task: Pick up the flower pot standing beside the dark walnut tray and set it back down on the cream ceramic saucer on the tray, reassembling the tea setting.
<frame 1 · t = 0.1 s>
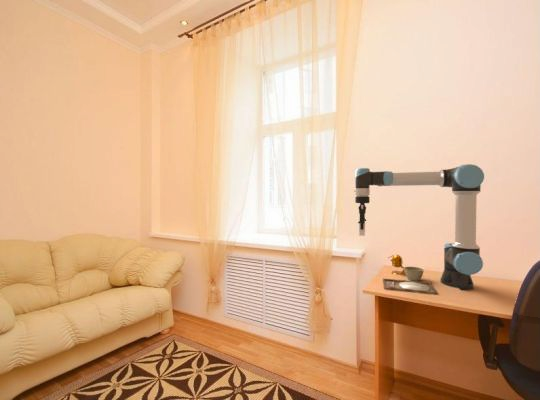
hand: (362, 233, 156), 28 cm above the table, fingers open, 13 cm apart
tray: (407, 288, 148), on the table
teaspoon: (393, 284, 152), resting on tray
saucer: (413, 287, 147), resting on tray
figurine: (398, 274, 175), on the table
flower pot: (413, 281, 161), on the table
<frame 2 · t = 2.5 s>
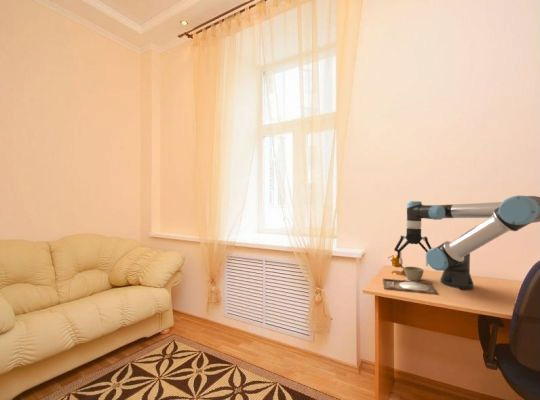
hand: (413, 264, 161), 9 cm above the table, fingers open, 13 cm apart
nothing on the table moved.
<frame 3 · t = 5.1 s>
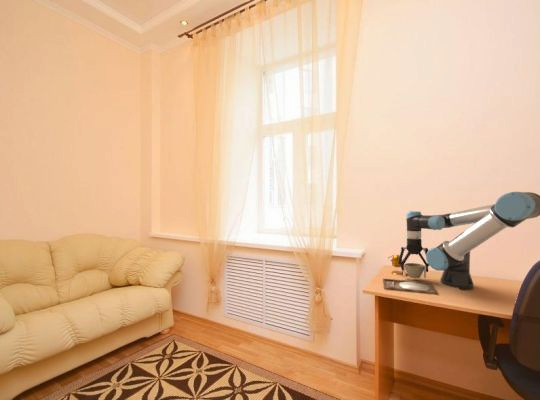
hand: (414, 276, 160), 3 cm above the table, fingers closed on flower pot, 10 cm apart
flower pot: (414, 277, 160), point 2 cm above the table, touching gripper
everything else where it was.
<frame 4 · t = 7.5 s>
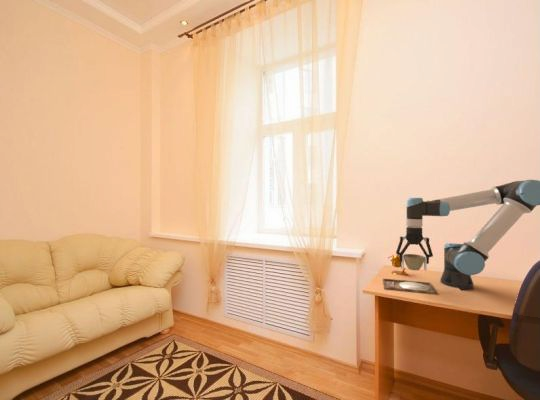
hand: (413, 268, 147), 11 cm above the table, fingers closed on flower pot, 10 cm apart
flower pot: (413, 269, 147), point 10 cm above the table, touching gripper
everything else where it was.
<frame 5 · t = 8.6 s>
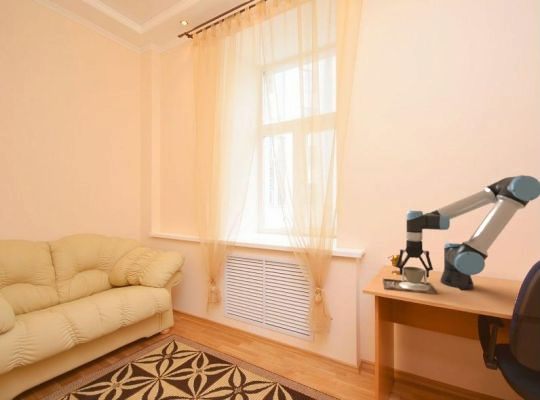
hand: (413, 281, 147), 4 cm above the table, fingers closed on flower pot, 10 cm apart
flower pot: (413, 282, 147), point 3 cm above the table, touching gripper
everything else where it was.
when the fingers open (3 cm above the table, at t = 9.7 s): flower pot drops 1 cm, resting on saucer.
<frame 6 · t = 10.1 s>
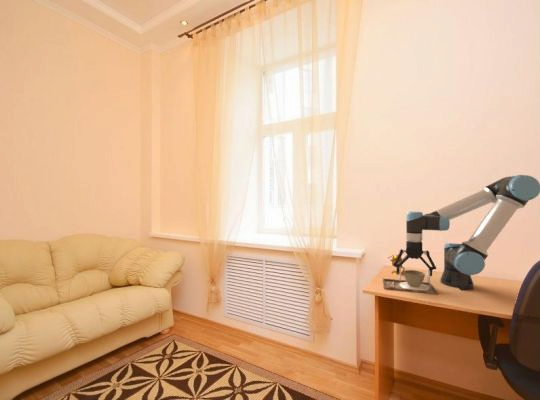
hand: (414, 280, 147), 4 cm above the table, fingers open, 13 cm apart
flower pot: (414, 286, 147), point 1 cm above the table, touching saucer
everything else where it was.
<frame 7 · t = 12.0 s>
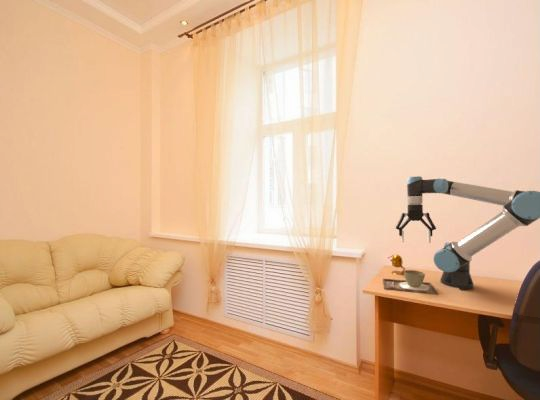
hand: (415, 242, 156), 23 cm above the table, fingers open, 13 cm apart
nothing on the table moved.
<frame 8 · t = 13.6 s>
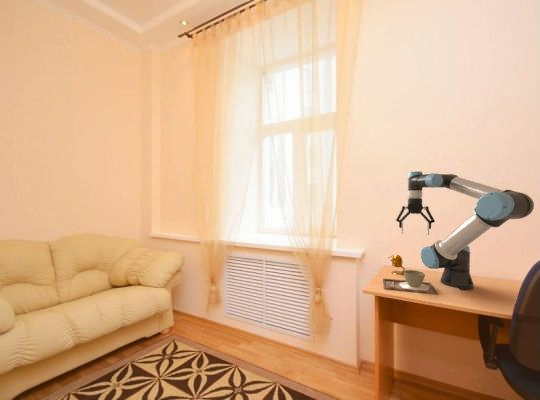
hand: (414, 234, 163), 27 cm above the table, fingers open, 13 cm apart
nothing on the table moved.
at the end: flower pot inside the target area on the saucer (0.1 cm from its centre), point 0.6 cm above the saucer's base; flower pot tilted 0°; the gripper is holding nothing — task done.
